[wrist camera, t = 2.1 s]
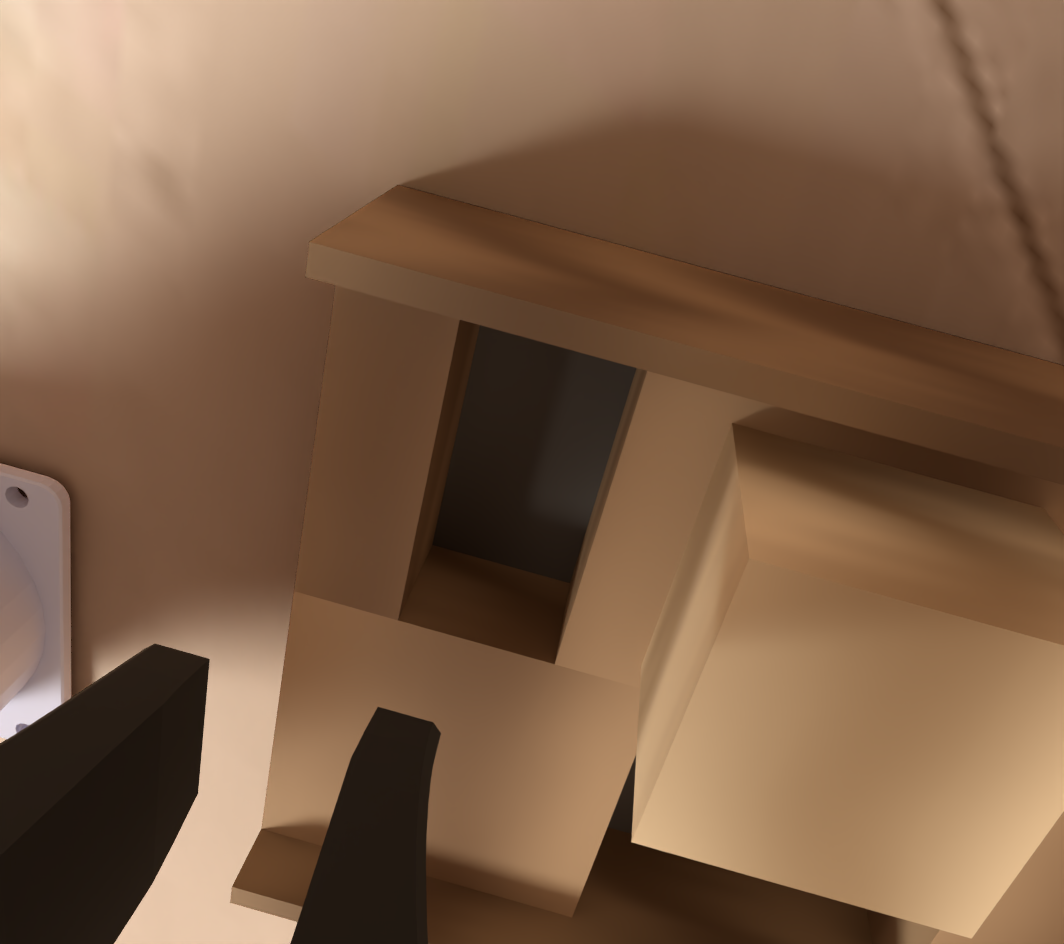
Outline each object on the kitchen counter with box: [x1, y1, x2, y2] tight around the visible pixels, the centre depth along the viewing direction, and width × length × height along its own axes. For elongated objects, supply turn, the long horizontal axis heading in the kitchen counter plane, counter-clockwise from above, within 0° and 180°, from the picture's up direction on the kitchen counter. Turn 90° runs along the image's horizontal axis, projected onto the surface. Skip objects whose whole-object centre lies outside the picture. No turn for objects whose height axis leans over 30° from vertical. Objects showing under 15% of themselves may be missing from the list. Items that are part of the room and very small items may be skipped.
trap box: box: [230, 185, 1064, 944], centre depth 17 cm, size 20×14×5 cm
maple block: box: [631, 423, 1064, 939], centre depth 14 cm, size 5×5×4 cm
